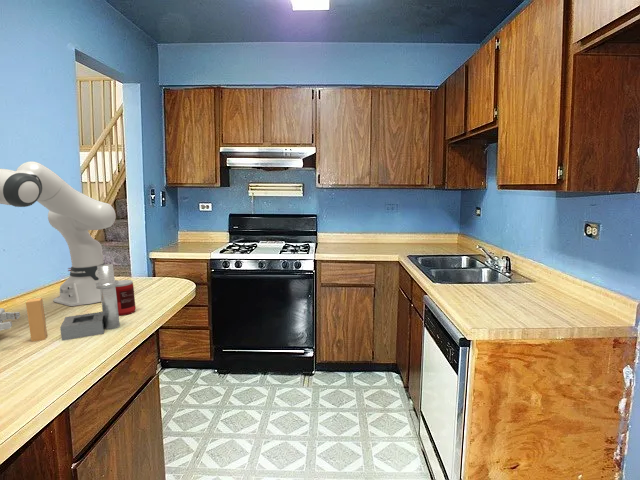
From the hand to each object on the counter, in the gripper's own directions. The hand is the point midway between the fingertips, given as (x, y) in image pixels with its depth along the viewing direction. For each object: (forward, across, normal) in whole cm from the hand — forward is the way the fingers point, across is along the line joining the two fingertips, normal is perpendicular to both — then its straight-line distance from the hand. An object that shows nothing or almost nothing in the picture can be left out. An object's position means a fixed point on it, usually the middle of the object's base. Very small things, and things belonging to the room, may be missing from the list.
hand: (15, 319), depth 124 cm
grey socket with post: (+20, 0, +7) cm, 21 cm away
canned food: (+28, +15, +7) cm, 33 cm away
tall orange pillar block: (+5, 0, +7) cm, 9 cm away
